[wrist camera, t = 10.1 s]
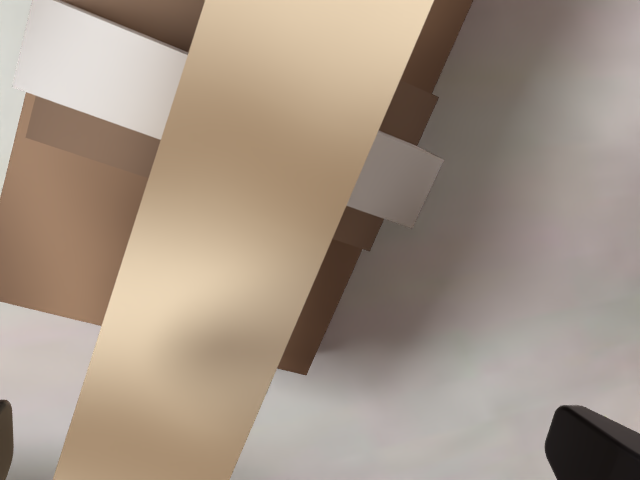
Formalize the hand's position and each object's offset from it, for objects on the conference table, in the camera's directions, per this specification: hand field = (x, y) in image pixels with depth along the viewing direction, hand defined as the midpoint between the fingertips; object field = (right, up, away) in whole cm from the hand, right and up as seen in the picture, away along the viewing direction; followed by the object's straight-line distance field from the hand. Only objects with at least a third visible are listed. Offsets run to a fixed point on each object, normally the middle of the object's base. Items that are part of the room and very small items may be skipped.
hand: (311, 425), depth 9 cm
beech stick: (-2, +6, +4) cm, 7 cm away
